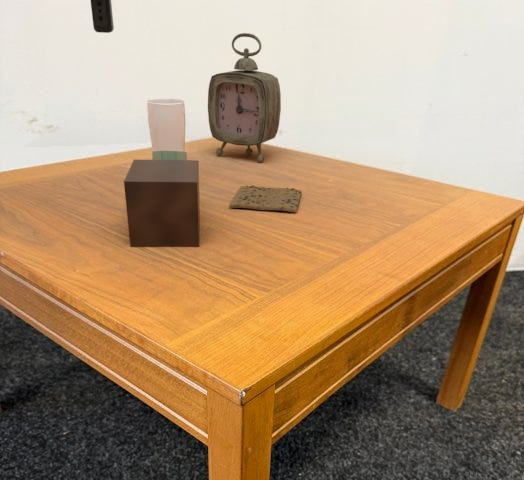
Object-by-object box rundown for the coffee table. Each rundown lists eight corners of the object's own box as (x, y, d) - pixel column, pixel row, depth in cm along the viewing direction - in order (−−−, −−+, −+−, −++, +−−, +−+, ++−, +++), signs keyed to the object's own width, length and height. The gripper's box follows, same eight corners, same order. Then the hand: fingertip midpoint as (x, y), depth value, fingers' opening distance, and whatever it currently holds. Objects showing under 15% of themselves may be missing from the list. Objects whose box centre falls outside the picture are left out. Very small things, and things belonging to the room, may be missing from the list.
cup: (186, 151, 88) (187, 154, 93) (151, 150, 87) (154, 153, 92) (187, 209, 90) (188, 208, 95) (153, 209, 89) (156, 208, 95)
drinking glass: (153, 189, 104) (147, 103, 96) (152, 179, 109) (146, 97, 101) (189, 188, 105) (186, 103, 97) (186, 179, 111) (182, 98, 103)
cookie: (239, 188, 106) (239, 183, 105) (302, 193, 105) (302, 188, 104) (227, 207, 96) (227, 202, 95) (296, 213, 95) (297, 207, 94)
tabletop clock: (208, 156, 127) (206, 31, 114) (227, 149, 134) (227, 30, 120) (264, 165, 122) (269, 35, 108) (281, 157, 129) (287, 34, 115)
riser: (130, 246, 80) (123, 181, 75) (138, 218, 90) (133, 159, 85) (199, 246, 81) (197, 181, 76) (200, 219, 91) (198, 160, 86)
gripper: (62, -144, 64) (83, 28, 73) (31, -174, 53) (61, 34, 62) (127, -140, 64) (140, 30, 74) (111, -168, 53) (128, 36, 63)
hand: (104, 32), depth 68 cm, fingers closed
